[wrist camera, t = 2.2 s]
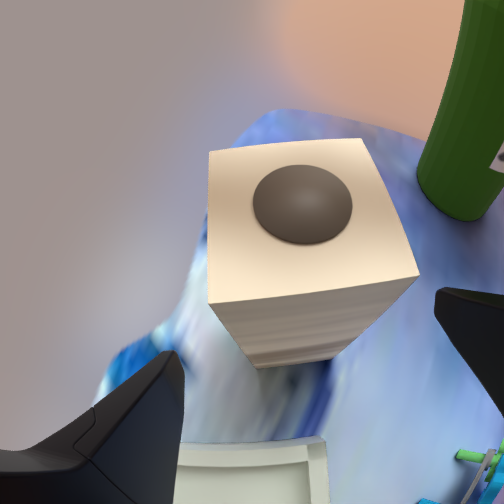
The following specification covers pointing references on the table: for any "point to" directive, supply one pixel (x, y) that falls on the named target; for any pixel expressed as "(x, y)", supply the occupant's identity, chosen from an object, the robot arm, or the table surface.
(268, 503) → the sage tray
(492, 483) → the gear
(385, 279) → the maple block
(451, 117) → the wine bottle
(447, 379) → the table surface
